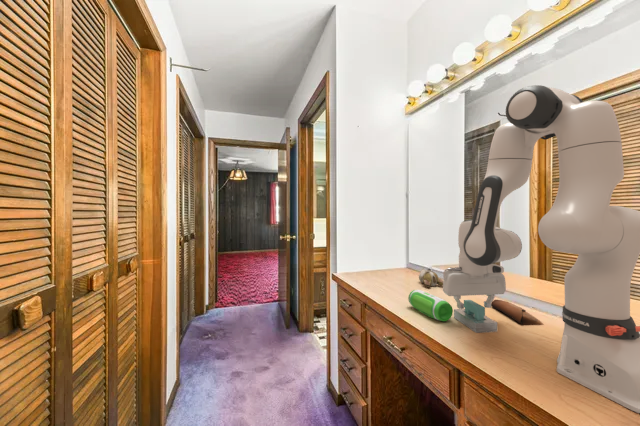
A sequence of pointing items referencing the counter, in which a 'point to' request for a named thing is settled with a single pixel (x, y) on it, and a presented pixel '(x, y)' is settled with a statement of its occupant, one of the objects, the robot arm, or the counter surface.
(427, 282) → the ceramic sculpture
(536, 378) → the counter surface
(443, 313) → the speaker
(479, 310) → the clip
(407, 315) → the counter surface
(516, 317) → the brown tapered cylinder
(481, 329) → the grey slotted block
